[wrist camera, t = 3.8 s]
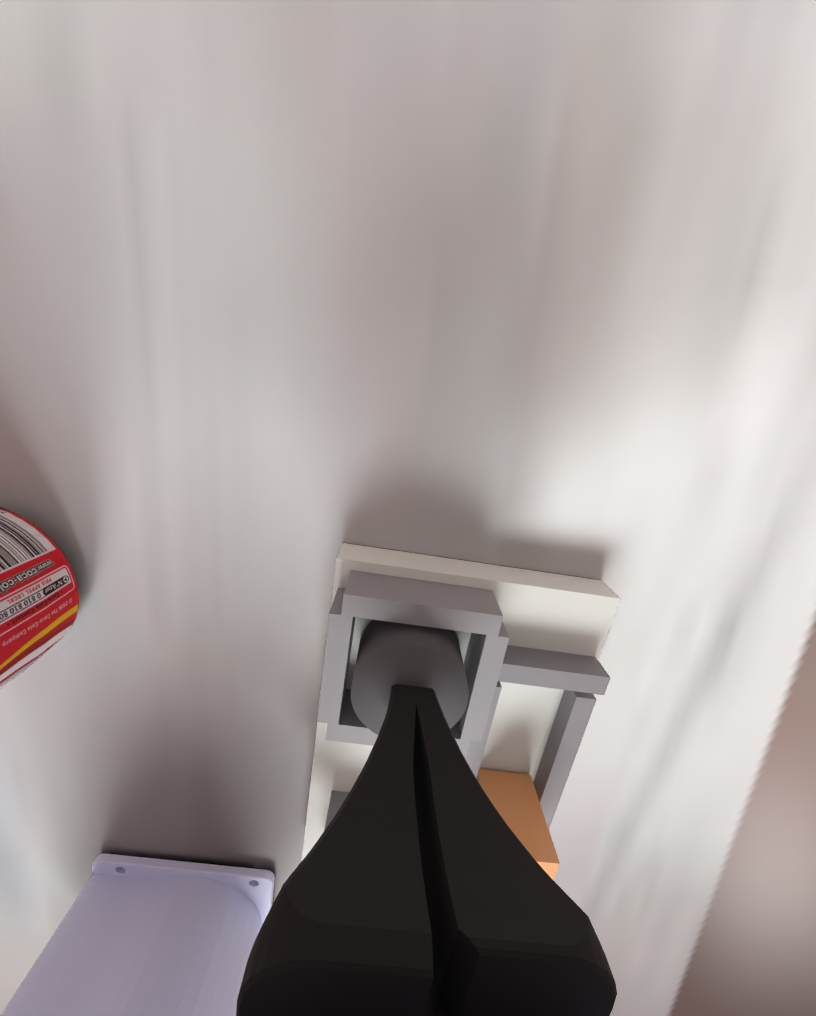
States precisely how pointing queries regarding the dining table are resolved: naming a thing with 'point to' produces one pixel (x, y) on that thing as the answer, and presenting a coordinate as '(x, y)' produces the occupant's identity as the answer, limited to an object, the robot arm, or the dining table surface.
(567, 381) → the dining table surface
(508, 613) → the panel
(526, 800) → the orange flat-faced block
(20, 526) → the soda can
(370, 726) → the button
